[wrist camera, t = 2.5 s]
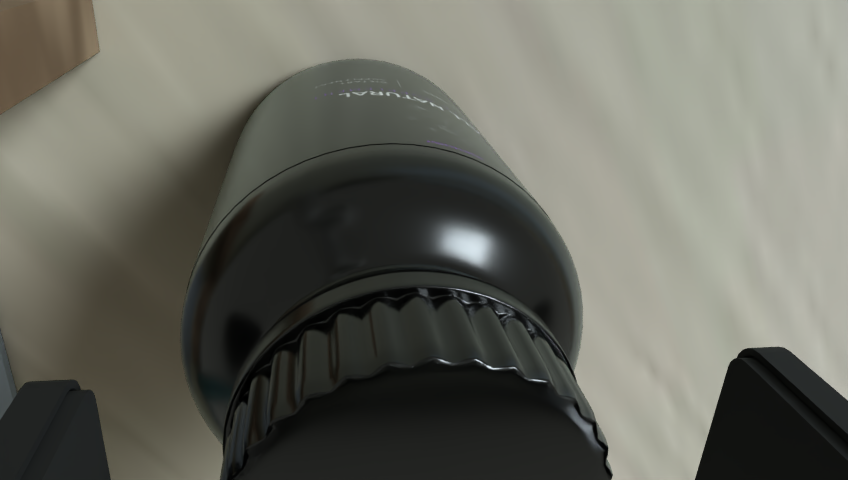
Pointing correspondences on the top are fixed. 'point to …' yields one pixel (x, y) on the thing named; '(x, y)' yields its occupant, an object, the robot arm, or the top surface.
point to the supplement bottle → (384, 297)
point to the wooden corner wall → (42, 44)
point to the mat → (5, 380)
